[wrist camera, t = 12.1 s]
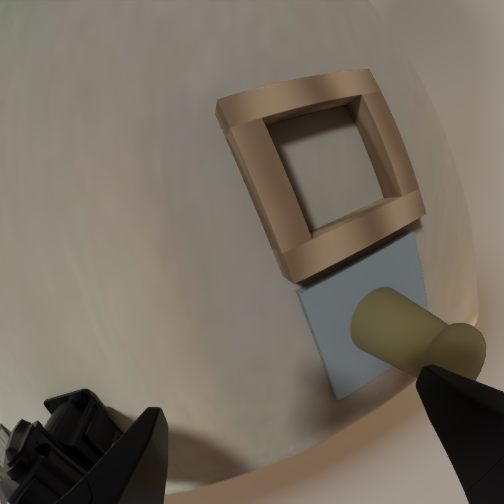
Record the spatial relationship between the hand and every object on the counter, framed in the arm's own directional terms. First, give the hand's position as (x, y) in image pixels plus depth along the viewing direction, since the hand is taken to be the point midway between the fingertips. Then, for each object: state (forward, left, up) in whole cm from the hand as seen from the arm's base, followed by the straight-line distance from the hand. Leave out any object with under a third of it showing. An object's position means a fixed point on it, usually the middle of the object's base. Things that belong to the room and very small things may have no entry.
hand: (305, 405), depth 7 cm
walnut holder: (+10, +7, -13) cm, 17 cm away
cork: (+10, -7, -12) cm, 17 cm away
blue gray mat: (+10, -7, -13) cm, 18 cm away
